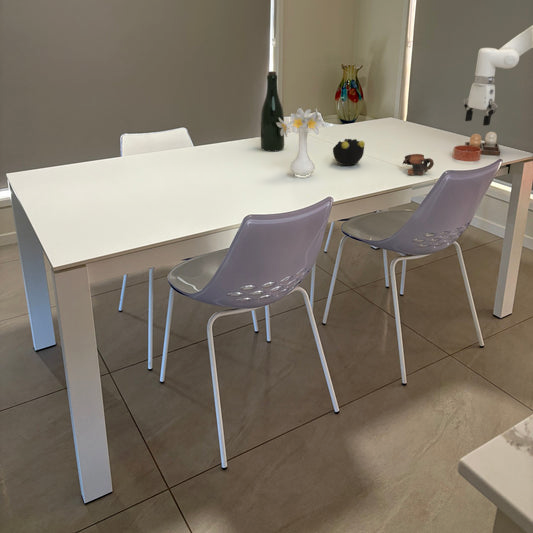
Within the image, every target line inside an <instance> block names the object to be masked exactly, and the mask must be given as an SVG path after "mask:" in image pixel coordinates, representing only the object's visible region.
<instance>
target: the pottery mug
mask: <svg viewBox="0 0 533 533" xmlns="http://www.w3.org/2000/svg"><path fill="white" fill-rule="evenodd" d="M434 164H435V163H434V160H433V159H432V158H430V157H428V158H426V157H425V155H424V154H421V153H411V154H407V155H405V156H404V160H403V162H402V165H407V166H412V167H411V168H408V169H407V175H408V176H413V175H418V176H424V173H427V172H428V171H429V170H431V169H432V168H433V167H434Z"/></svg>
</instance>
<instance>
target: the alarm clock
mask: <svg viewBox="0 0 533 533" xmlns="http://www.w3.org/2000/svg"><path fill="white" fill-rule="evenodd" d="M365 144H366V143H365V142H364V140H358V139H356V138H354V139H352V138H345V139H343V141H340V140H339V141H338V142H337V144H335V145H334V147H332V154H333V157H334V159H335V160H336V162H338V163H339V164H340V165H342V164H343V165H342V166H353V164H354V165H356V164H358V162H360V160H361V159H362V158H363V156H364V153H365Z"/></svg>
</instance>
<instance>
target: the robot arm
mask: <svg viewBox="0 0 533 533" xmlns="http://www.w3.org/2000/svg"><path fill="white" fill-rule="evenodd" d="M532 49H533V24H532V25H530V26H529V27H528V28H526V29H525V30H524V31H522V32H521V33H519V34H517V35H516V36H515V37H513V38H512V39H510V40H509V41H508V42H507V43H505V44H504V45H502V46H501V47H500V48H499V49H498V48H495V47H481V48H479V50H478V53H477V60H476V66H475V72H474V78H473V79H474V80H473V83H472V84H471V87H470V91H469V95H468V97H466V98H464V99H463V107H464V109H465V112H466V113H465V118H464V120H465V122H471V121H473V116H474V115H473V114H474V109H475V110H478V111H479V110H480V111H483V112H484V114H485V115H484V116H483V123H482V125H483V126H490V125H491V119H492V116H493V115H494V113H496V111H497V109H498V107H499V105H498V104H497V103H496V102H495V97H496V86H495V85H496V84H494V83H496V79H495V75H496V68H499V69H505V70H510V69H513V68H515V67H516V66H517V65H518V63H519V61H520V57H521V56H522V55H523V54H525V53H527V52H528V51H530V50H532Z"/></svg>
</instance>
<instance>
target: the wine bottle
mask: <svg viewBox="0 0 533 533" xmlns="http://www.w3.org/2000/svg"><path fill="white" fill-rule="evenodd" d="M278 90H279V89H278V75H277V71H272V70H271V71H268V72H267V75H266V93H265V98H264V101H263V104H262V107H261V112H260V149H261V150H262V151H264V152H265V151H266V152H280V151H282V150H284V149H285V133H284V134H283V136H281V133H280V131H281V129H282V128H280V127H278V126H277V124H276V123H277V122H279V123H281V122H280V121H279V117H280V118H281V120H282V121H283V122H284V123H285V116H284V114H285V113H284V108H283V105H282V102H281V100H280V99H281V98H280V96H279V91H278ZM263 149H264V150H263ZM268 150H270V151H268ZM275 150H276V151H275Z"/></svg>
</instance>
